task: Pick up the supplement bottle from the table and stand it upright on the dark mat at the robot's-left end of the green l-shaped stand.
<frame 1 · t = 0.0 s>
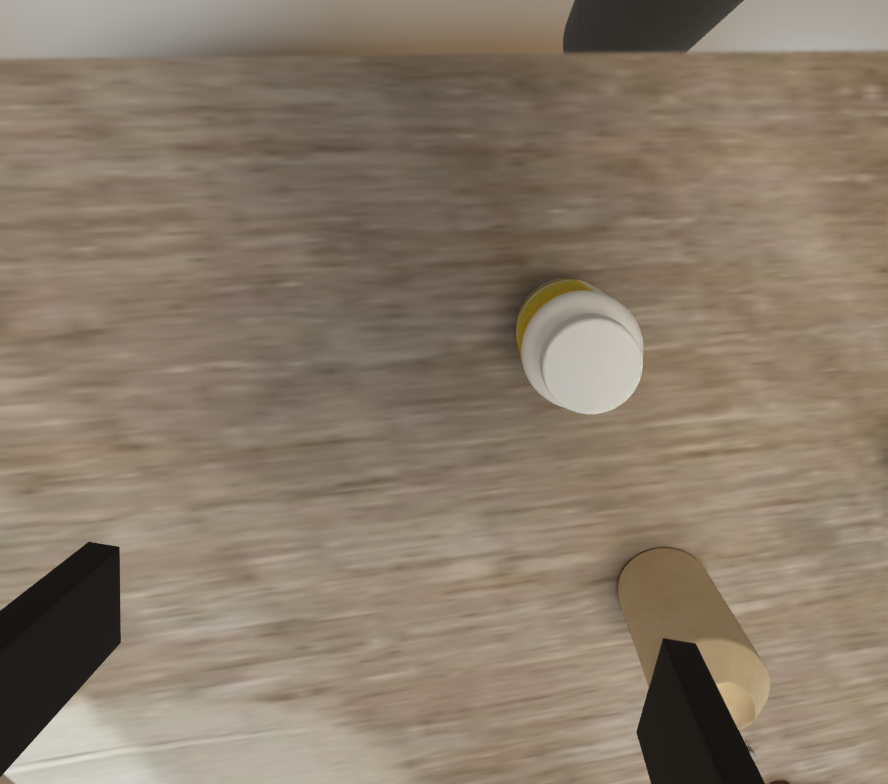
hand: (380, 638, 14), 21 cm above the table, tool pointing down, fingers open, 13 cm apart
supplement bottle: (563, 326, 33), on the table
candle: (661, 584, 37), on the table
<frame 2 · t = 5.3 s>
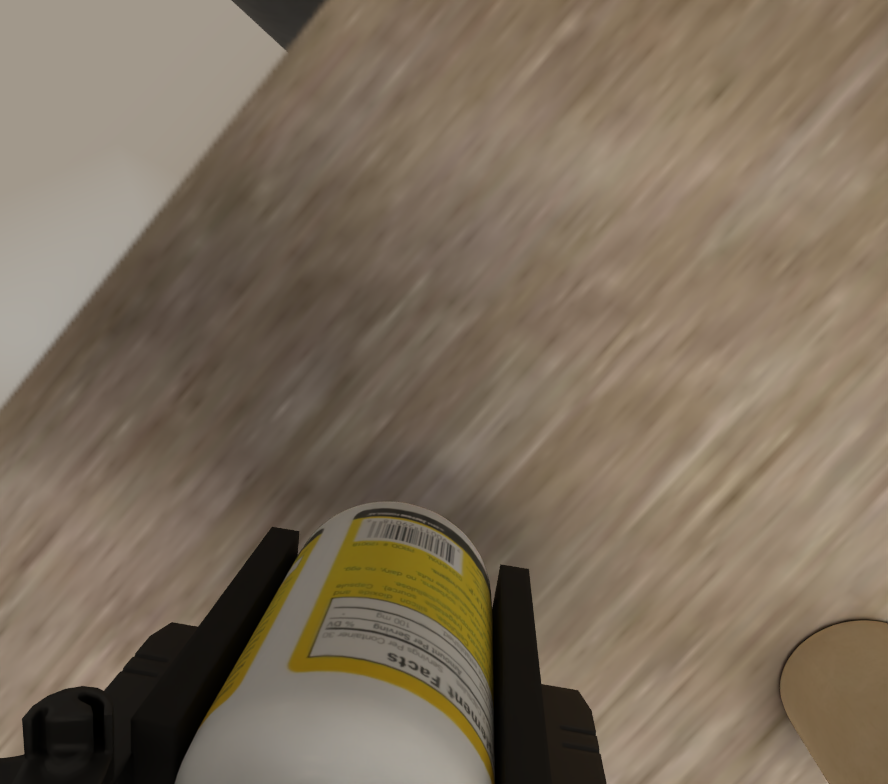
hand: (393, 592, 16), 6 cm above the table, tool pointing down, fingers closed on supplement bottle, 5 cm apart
supplement bottle: (396, 581, 17), point 5 cm above the table, touching gripper
candle: (851, 678, 22), on the table
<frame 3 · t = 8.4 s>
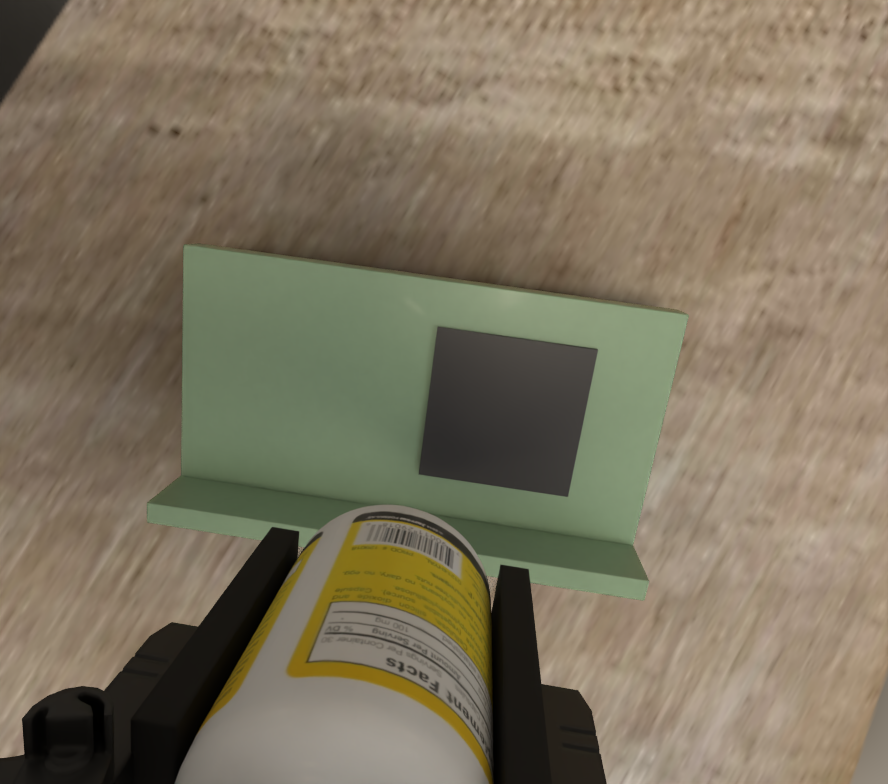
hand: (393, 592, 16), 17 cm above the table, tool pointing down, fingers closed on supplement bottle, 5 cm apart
green l-shaped stand: (427, 383, 32), on the table
supplement bottle: (395, 584, 17), point 16 cm above the table, touching gripper
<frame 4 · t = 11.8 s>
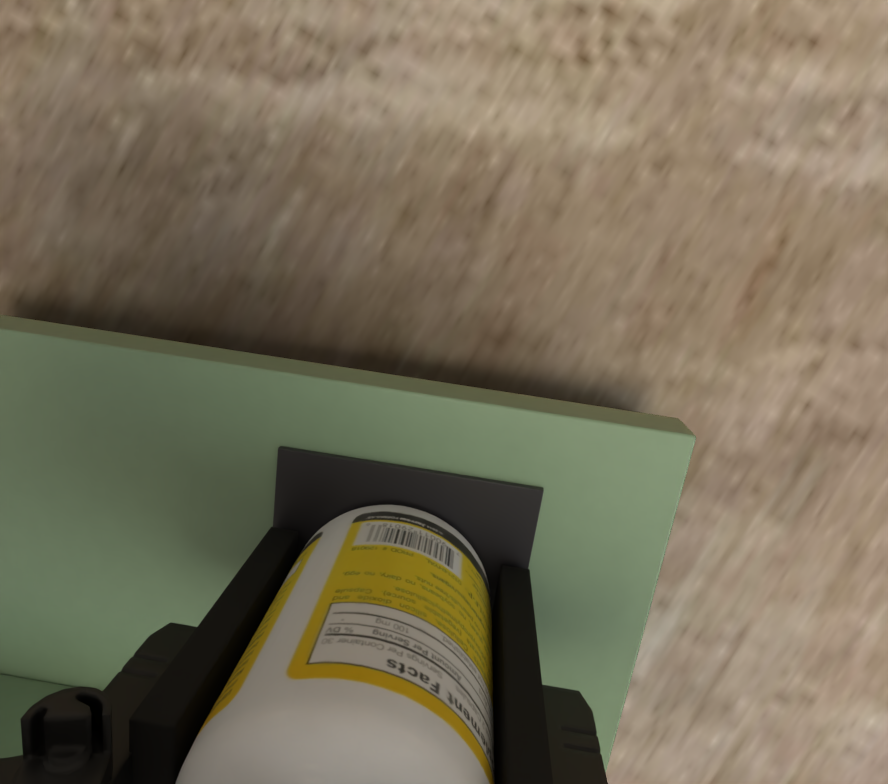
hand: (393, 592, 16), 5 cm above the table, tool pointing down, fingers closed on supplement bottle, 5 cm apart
green l-shaped stand: (306, 497, 22), on the table
supplement bottle: (395, 584, 17), point 5 cm above the table, touching gripper, green l-shaped stand
when the fingers open (5 cm above the table, at t = 12.0 s): supplement bottle stays where it is, resting on green l-shaped stand.
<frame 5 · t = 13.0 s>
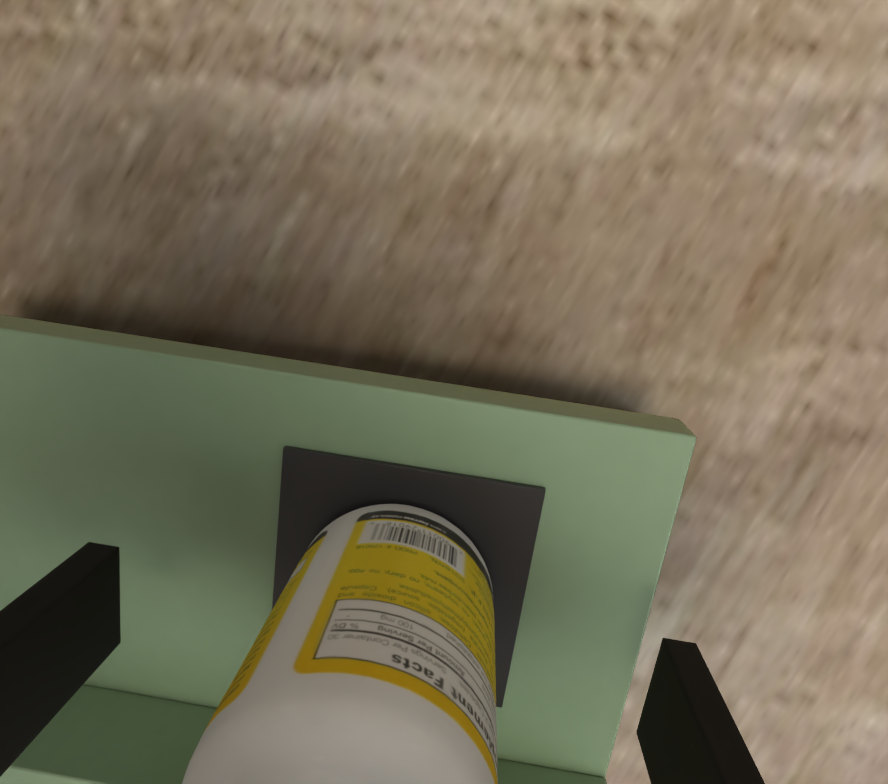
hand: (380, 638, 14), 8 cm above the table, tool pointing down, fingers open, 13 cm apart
green l-shaped stand: (310, 497, 22), on the table
supplement bottle: (399, 582, 17), point 5 cm above the table, touching green l-shaped stand
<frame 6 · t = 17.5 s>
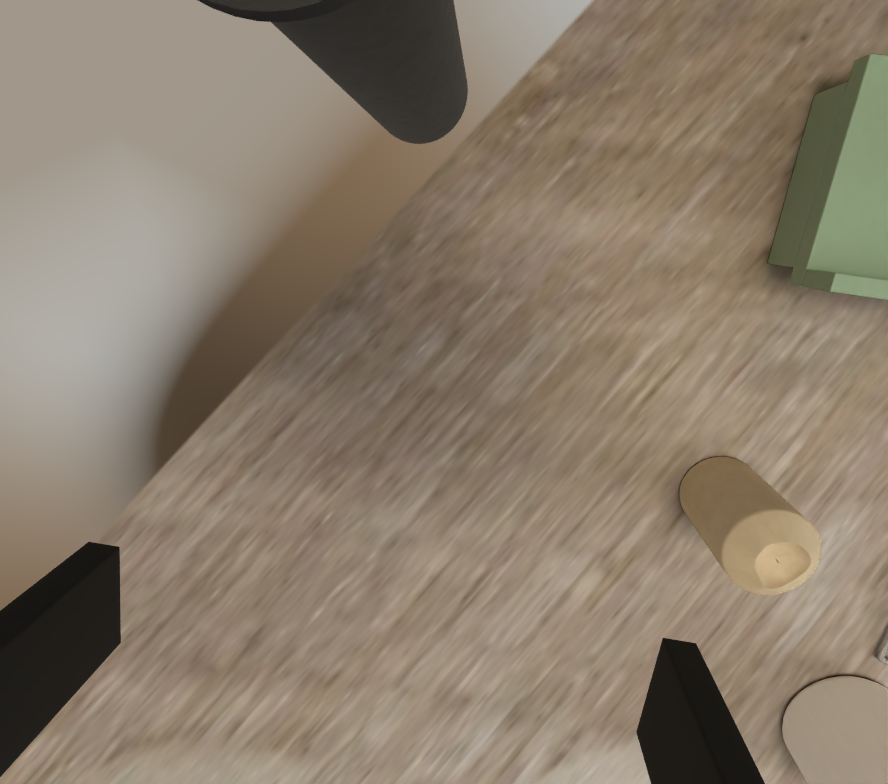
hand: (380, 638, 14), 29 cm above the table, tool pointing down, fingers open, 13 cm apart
candle: (716, 490, 43), on the table
mug: (830, 734, 48), on the table
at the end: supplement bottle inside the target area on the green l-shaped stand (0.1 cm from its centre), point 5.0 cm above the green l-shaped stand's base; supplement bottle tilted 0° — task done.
